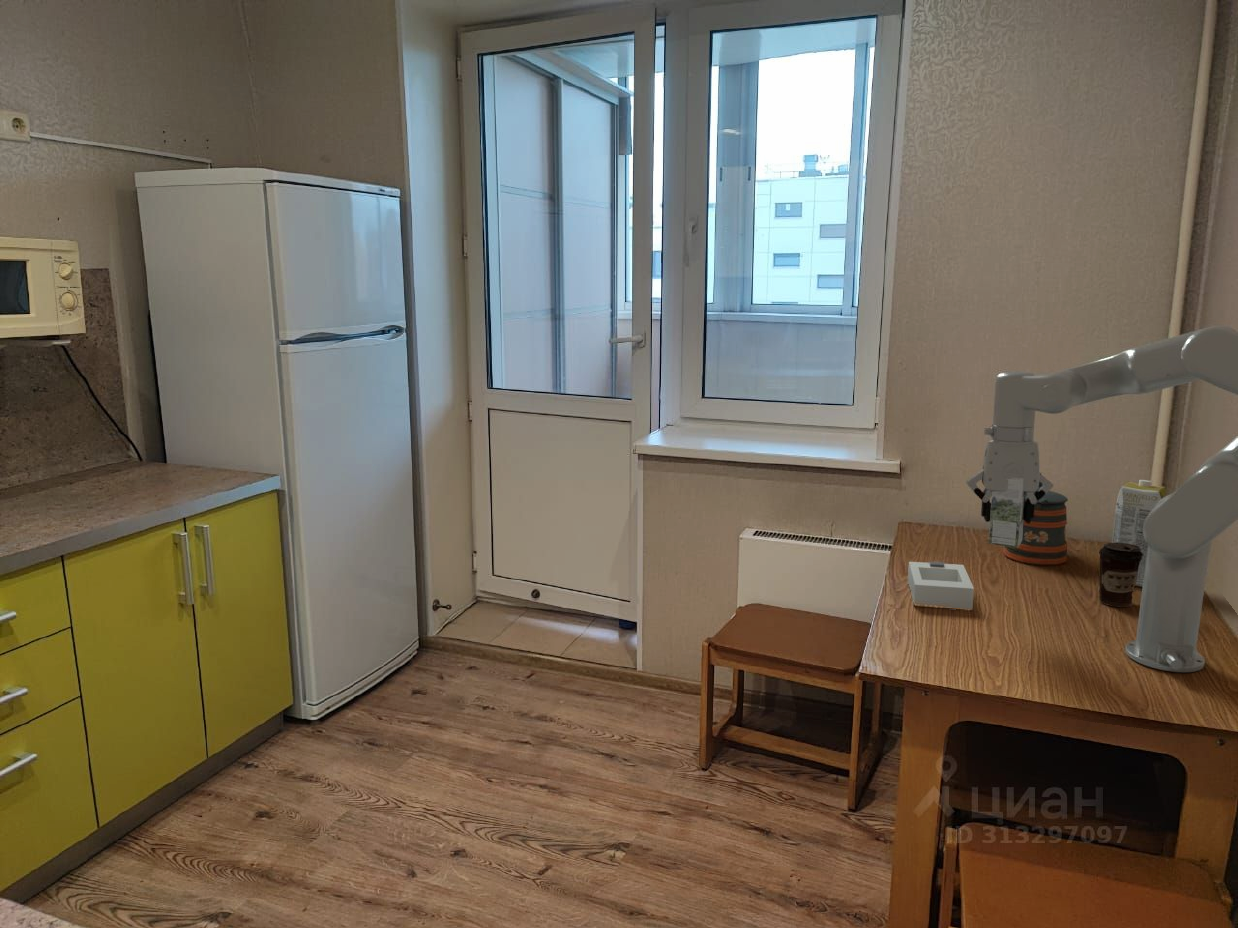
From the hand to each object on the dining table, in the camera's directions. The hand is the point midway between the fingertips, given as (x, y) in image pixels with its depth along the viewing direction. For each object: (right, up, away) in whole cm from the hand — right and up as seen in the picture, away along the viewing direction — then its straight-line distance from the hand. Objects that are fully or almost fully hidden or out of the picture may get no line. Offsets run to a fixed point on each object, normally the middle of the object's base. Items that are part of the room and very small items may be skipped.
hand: (1006, 520), depth 176 cm
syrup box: (0, -5, +1) cm, 5 cm away
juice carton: (+41, -16, +27) cm, 52 cm away
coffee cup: (+30, -19, +14) cm, 38 cm away
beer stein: (+28, -12, +47) cm, 56 cm away
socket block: (-7, -18, +19) cm, 28 cm away
